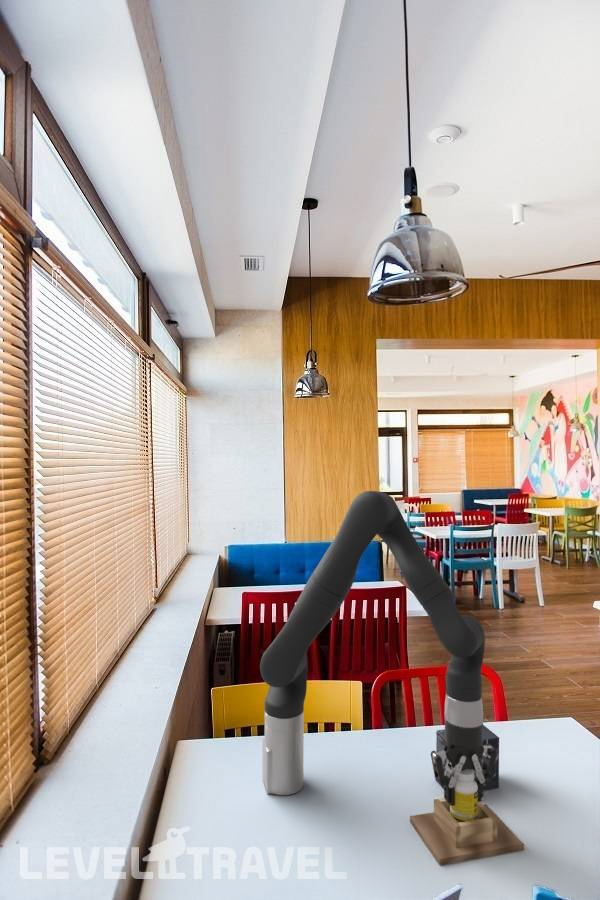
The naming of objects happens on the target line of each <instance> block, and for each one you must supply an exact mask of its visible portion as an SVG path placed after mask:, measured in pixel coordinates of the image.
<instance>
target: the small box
mask: <svg viewBox="0 0 600 900" xmlns="http://www.w3.org/2000/svg"><path fill="white" fill-rule="evenodd" d="M435 734H436V744H435V745H436V749H435V752H436V753H437V752H440V751H443V749H444V747H445V744H446V741H445V728H444V729H439V730H437V729H436V731H435ZM486 744H489V745H490V746H492V747H493V748H494V749H495V750H496V751H497V754H496V760H495V765H494V771H493V777H492V779H486V780H485V782H484V783H483V792H484V791H488V790H489V791H490V790H495V789H499V787H500V781H499V780H500V737H499V736H498V735H497V734H495V732H493V731H492V730H490V729H489V728H488V727H487V726H485V725H484V724H483V743H482V745H483V746H485V745H486ZM447 760H448V759H447V757H446V758H445V759H444V764H443V769H444V773H445V771H446V768H445V766H446V763H447ZM482 761H483V754H482V756H481V758H480V759H479V763H480V766H481V767H482ZM453 768H454V767H453ZM434 780H435V781H436V782H437V784H439V786H440V787H441V788H442V789H443V790H444V786H442V785H441V784H440V783H439V782H438V781H437V780H436V779H435V778H434Z"/></svg>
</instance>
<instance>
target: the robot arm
mask: <svg viewBox="0 0 600 900" xmlns="http://www.w3.org/2000/svg"><path fill="white" fill-rule="evenodd" d="M376 536H378V537H379V538H380V539H381V540H382V542H383V543H384V544H385V545H386V547H387V548H388V549H389V550H390V552H391V553H392V556H394V558H395V561H396V562H397V563H396V564H397V565H398V568H399V570H400V572H401V574H402V576H403V579H404V581H405V583H406V584H407V586H408V588H409V589H410V591H411V592H412V594H413V596H414V597H415V598H416V600H417V602H418V603H419V604H420V605H421V606H422V608H423V610H424V611H425V613H426V614H427V617H428V619H429V621H430V624H431V625H432V627H433V630H434V632H435V635H436V637H437V638H438V640H439V642H440V644H441V645H442V647H443V648H444V649H445V650H446V651H447V652H448V653H449V654H450V661H449V664H448V665H447V668H446V674H445V699H444V700H445V701H444V729H445V741H446V744H445V747H444V749H443V751H440V752H437V753H436V750H432V751H430V758H431V762H432V763H431V764H432V769H433V774H434V780H435V779H436V780H437V781H438V782H439V783H440V784H441V785H442V786H444V789H443V798H445V800H446V801H447V802H448V803H449V804H450V806H454V805H455V788H454V784H455V781H456V778H458V777H459V775H460V772H461V771H463V770H465V769H469V770H471V769H473V770H474V780H475V781H476V783H477V786H478V802H482V799H483V797H484V791H483V783H484V782H485V780H486V779H492V777H493V771H494V765H495V760H496V754H497V751H496V750H495V749H494V748H493V747H492V746H490V745H489V744H486V745H485V746H483V745H482V743H483V725H484V706H483V697H482V695H483V694H482V693H483V689H482V688H483V685H482V669H483V661H484V655H485V646H486V645H485V644H486V638H485V636H486V635H485V630H484V627H483V625H482V623H481V622H480V621H479V620H478V618H476V617H474V616H472V615H468V614H467V615H466V614H463V615H461V612H460V610H459V609H458V608H457V606H456V596H455V594H454V592H453V590H452V589H451V588H450V586H449V585H448V584H447V583H446V581H445V579H444V578H443V576H442V575H441V574H440V573H439V571H438V569H436V567H435V566H434V564H433V563H432V562H431V560H430V559H429V557H428V556H427V555H426V553H425V551H423V548H421V546H420V545H419V543H418V541H417V540H416V538H415V537H414V535H413V533H412V532H411V530H410V528H409V525H408V524H407V523H406V521H405V518H404V516H403V515H402V512H401V511H400V507H398V504H397V503H396V501H395V500H394V498H393V497H392V496H391V495H390V494H389V493H385V492H382V491H377V490H369V491H368V490H367V491H366V490H365V491H362V492H361V493H359V494H358V495H357V496H355V498H354V499H353V500H352V502H351V503H350V505H349V506H348V509H347V511H346V513H345V516H344V518H343V521H342V523H341V525H340V527H339V529H338V532H337V534H336V535H335V537H334V538H333V541H332V542H331V544H330V546H329V547H328V548H327V550H326V552H325V553H324V555H323V556H322V558H321V559H320V561H319V563H318V565H317V566H316V568H315V569H314V570H313V571H312V574H310V575H311V576H310V577H309V579H308V581H307V582H306V583H305V585H304V587H303V589H302V591H301V593H300V595H299V597H298V598H297V600H296V603H295V604H294V606H293V609H292V610H291V612H290V614H289V616H288V618H287V621H286V622H285V623H284V626H283V627H282V629H281V630H280V632H279V633H278V634H277V636H276V637H275V638H274V639H273V641H272V642H271V644H269V645H268V647H267V648H266V650H265V651H264V652H263V654H262V656H261V659H260V663H259V670H260V671H259V672H260V676H261V678H262V679H263V681H264V683H265V684H267V685H268V686H269V688H268V690H267V693H266V695H265V700H264V738H263V739H262V782H263V786H264V788H265V792H266V794H267V795H268V794H274V795H276V796H277V795H278V796H289V795H293V794H296V793H298V792H299V791H301V790H302V788H303V787H304V778H305V776H304V775H305V774H304V770H305V769H304V766H305V765H304V760H305V759H304V752H305V751H304V748H305V747H304V739H305V738H304V737H305V736H304V734H305V733H304V731H305V729H304V723H305V721H304V719H305V715H304V714H305V713H304V712H305V711H304V709H305V708H304V707H305V706H304V705H305V700H306V696H307V689H308V688H307V687H308V684H307V683H308V657H307V651H308V650H309V647H311V645H312V643H313V641H314V640H315V639H316V638H317V637H318V635H319V634H320V633H321V632H322V631H323V630H324V629H325V627H326V626H327V625H328V624H329V623H330V621H331V620H332V619H333V617H334V616H335V615H336V614H337V612H338V611H339V610H340V607H341V606H342V604H343V603H344V601H345V599H346V598H347V596H348V595H349V592H350V591H351V589H352V587H353V584H354V581H355V578H356V574H357V571H358V568H359V563H360V561H361V558H362V557H363V555H364V553H365V551H366V550H367V549H368V547H369V546H370V544H371V543H372V542H373V540H374V538H375V537H376ZM482 754H483V761H482V767H481V766H480V763H479V759H480V758H481V756H482ZM446 757H447V759H448V760H447V763H446V766H445V768H446V771H445V773H444V769H443V764H444V759H445V758H446ZM453 767H454V768H453ZM436 780H435V781H436ZM437 781H436V782H437ZM438 782H437V783H438ZM439 783H438V784H439Z"/></svg>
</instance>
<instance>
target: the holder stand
mask: <svg viewBox="0 0 600 900" xmlns="http://www.w3.org/2000/svg"><path fill="white" fill-rule="evenodd" d="M409 822H410V825H411V826H412V827H413V829H414V830H415V832H416V833H417V835H418V836H419V838H420V839H421V840H422V842H423V844H424V845H425V847H426V848H427V849H428V850H429V852H430V853H431V855H432V857H433V858H434V860H435V861H436V862H437V864H438V866H444V865H449V864H451V865H452V864H455V863H461V862H466V861H471V860H478V859H482V858H487V857H489V858H490V857H493V856H499V855H505V854H509V853H510V854H511V853H514V852H515V853H516V852H520V851H524V847H525V845H524V842H523V841H521V839H520V838H519V837H518V836H517V835H516V834H515V833H514V832H513V831H512V830H511V829H510V828H509V827H508V826H507V824H506V823H505V822H504V821H503V820H502V819H501V818H500V817H499V816H498V815H497V813H495V812H494V810H492V809H491V808H490V806H489V805H488V804H486V803H484V804H483V803H482V801H480V802H478V818H477V820H472V821H466V822H460V823H457V821H456V820H455V819H454V818H453V816H452V815H451V814H450V804H449V803H448V802H447V801H446V800H445V798H444V797H440V798H436V799H435V798H434V799H433V812H427V813H421V814H416V815H410V816H409Z"/></svg>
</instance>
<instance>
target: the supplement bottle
mask: <svg viewBox="0 0 600 900" xmlns="http://www.w3.org/2000/svg"><path fill="white" fill-rule="evenodd" d="M454 788H455V805H454V806H450V814H451V815H452V816H453V818H454V819H455V820H456V821H457V823H460V822H466V821H472V820H477V818H478V786H477V783H476V781H475V780H474V770H473V769H471V770H469V769H465V770H463V771H461V772H460V775H459V777H458V778H456V781H455V784H454Z"/></svg>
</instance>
